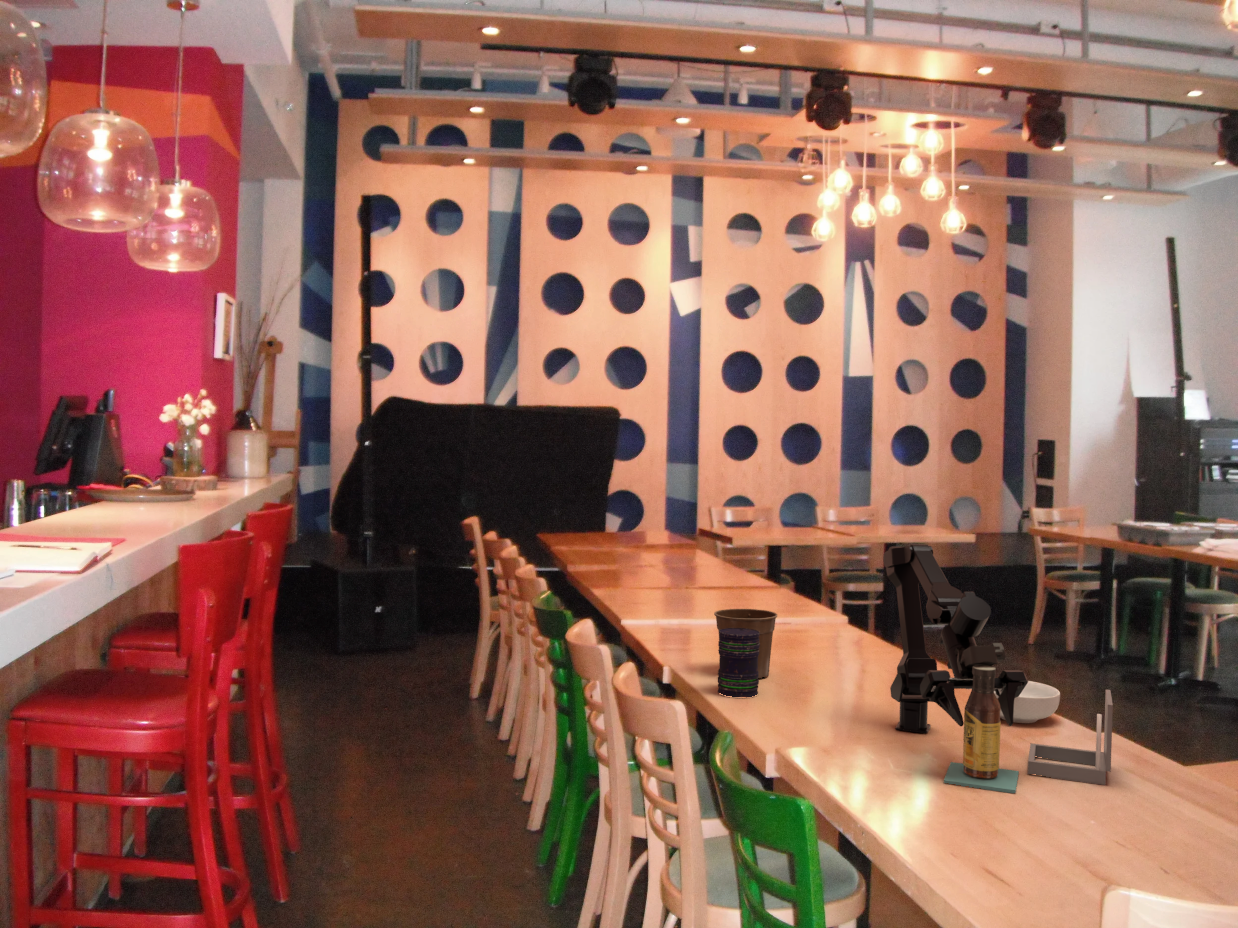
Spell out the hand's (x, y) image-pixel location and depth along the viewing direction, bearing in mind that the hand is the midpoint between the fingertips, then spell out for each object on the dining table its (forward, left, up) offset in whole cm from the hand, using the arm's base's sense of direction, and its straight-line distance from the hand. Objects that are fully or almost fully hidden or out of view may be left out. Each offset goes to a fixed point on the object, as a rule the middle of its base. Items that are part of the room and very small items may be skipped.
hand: (986, 724), depth 188 cm
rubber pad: (-1, -1, -10) cm, 10 cm away
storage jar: (-43, -59, -10) cm, 74 cm away
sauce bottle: (-1, -1, -10) cm, 10 cm away
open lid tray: (-14, +13, -10) cm, 22 cm away
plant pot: (-63, -64, -10) cm, 90 cm away
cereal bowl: (-50, +3, -10) cm, 51 cm away
